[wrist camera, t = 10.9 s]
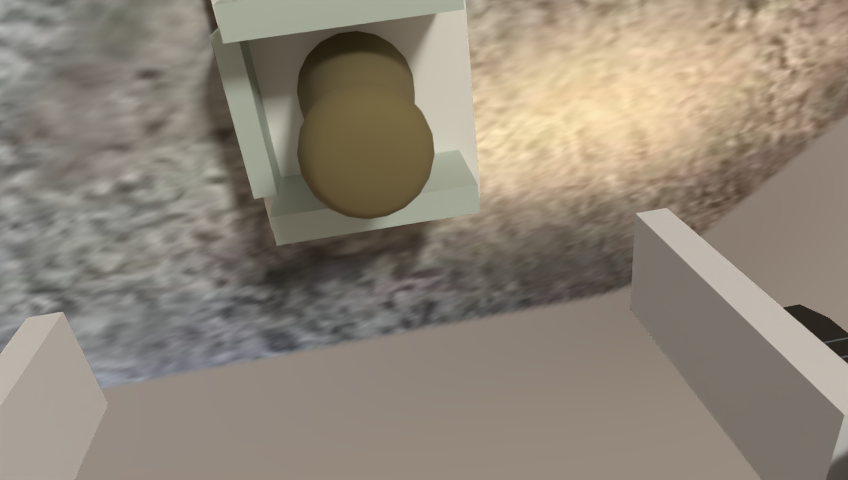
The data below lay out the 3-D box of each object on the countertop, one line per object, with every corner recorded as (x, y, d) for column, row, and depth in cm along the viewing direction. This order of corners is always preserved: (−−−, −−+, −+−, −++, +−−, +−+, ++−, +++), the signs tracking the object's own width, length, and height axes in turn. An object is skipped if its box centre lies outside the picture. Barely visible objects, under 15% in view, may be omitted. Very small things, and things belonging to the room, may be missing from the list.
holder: (273, 221, 35) (263, 275, 30) (204, -43, 29) (176, -33, 24) (476, 189, 36) (501, 235, 31) (455, -77, 30) (482, -74, 24)
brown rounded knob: (436, 105, 33) (482, 184, 23) (344, 169, 33) (351, 270, 24) (370, 5, 30) (390, 46, 20) (271, 77, 31) (245, 150, 21)
